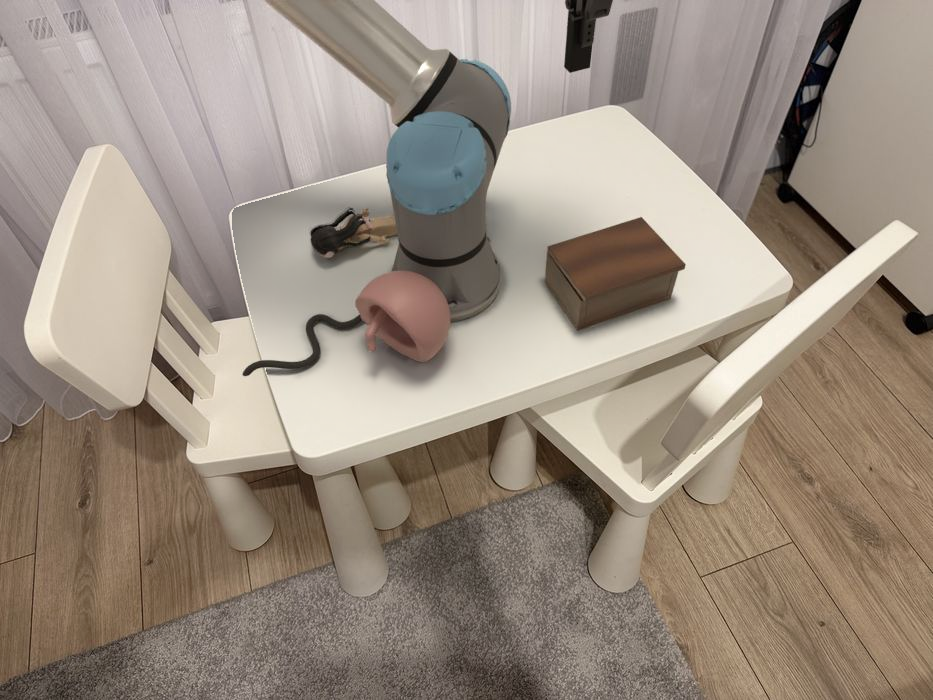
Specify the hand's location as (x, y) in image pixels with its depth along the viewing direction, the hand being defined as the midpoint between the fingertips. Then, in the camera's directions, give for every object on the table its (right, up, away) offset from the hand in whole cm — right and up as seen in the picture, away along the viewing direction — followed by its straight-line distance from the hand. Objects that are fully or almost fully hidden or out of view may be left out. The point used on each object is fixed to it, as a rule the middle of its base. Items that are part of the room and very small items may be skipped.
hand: (577, 67), depth 81 cm
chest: (+6, -26, +13) cm, 29 cm away
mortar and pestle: (-16, -27, +3) cm, 31 cm away
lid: (+6, -22, +8) cm, 24 cm away
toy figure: (-29, -17, +21) cm, 40 cm away
